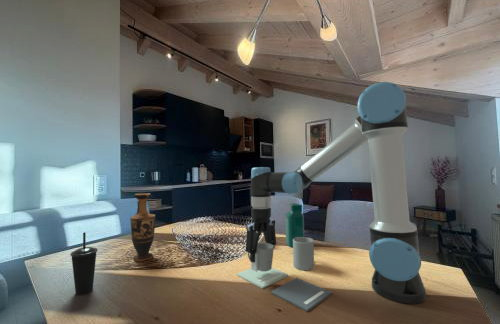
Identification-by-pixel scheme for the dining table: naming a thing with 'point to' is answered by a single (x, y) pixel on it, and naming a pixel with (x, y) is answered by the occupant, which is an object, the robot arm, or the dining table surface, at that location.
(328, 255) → the dining table surface
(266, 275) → the pad green
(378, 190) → the robot arm
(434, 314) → the dining table surface
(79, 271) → the drinking cup
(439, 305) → the dining table surface
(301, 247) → the mug
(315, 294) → the pad slate
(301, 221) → the green bottle
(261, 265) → the cup
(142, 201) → the vase
